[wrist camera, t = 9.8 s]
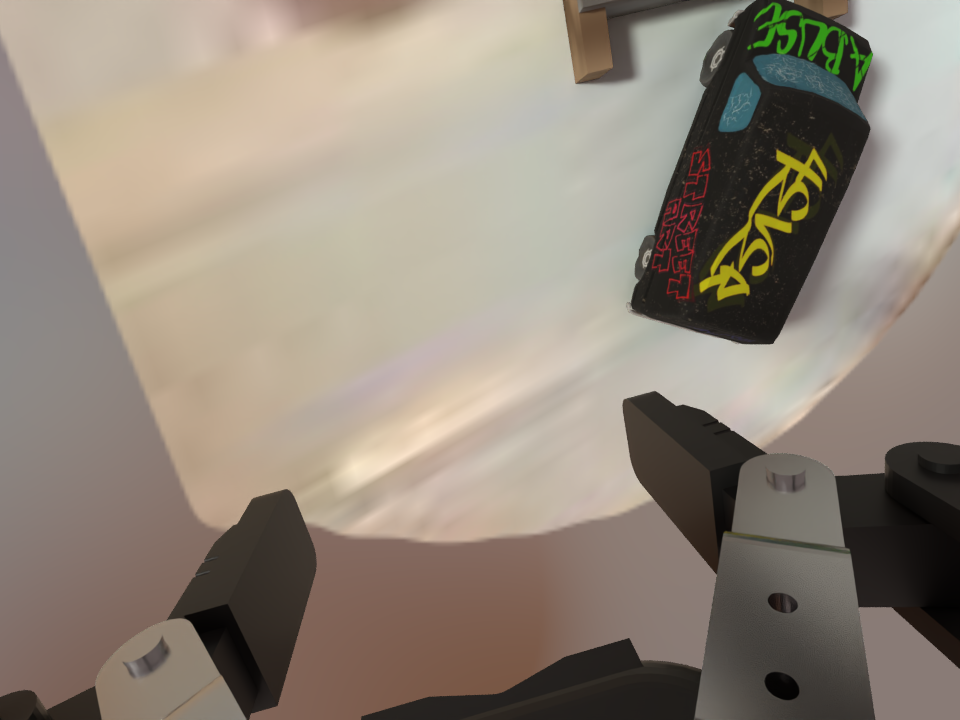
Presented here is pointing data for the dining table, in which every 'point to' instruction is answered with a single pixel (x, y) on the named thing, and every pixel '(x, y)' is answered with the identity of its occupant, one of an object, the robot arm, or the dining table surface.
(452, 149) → the dining table surface
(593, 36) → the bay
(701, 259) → the toy van
